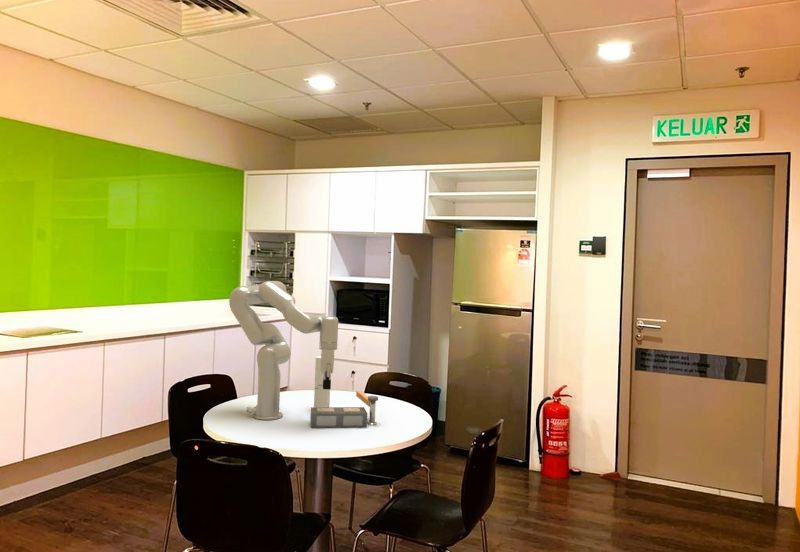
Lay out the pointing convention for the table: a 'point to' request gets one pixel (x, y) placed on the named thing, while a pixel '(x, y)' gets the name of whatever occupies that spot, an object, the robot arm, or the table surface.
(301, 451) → the table surface
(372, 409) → the post
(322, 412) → the block
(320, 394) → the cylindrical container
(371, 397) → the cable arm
